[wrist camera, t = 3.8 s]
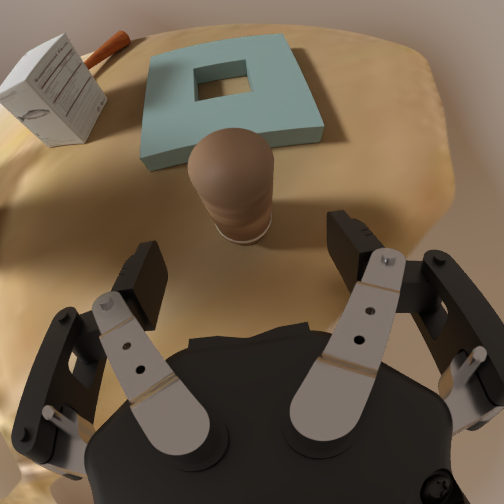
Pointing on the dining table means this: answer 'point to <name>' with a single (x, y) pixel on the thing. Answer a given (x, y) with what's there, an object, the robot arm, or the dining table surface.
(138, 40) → the dining table surface
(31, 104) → the supplement box
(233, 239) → the peg
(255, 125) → the board
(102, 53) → the kendama
